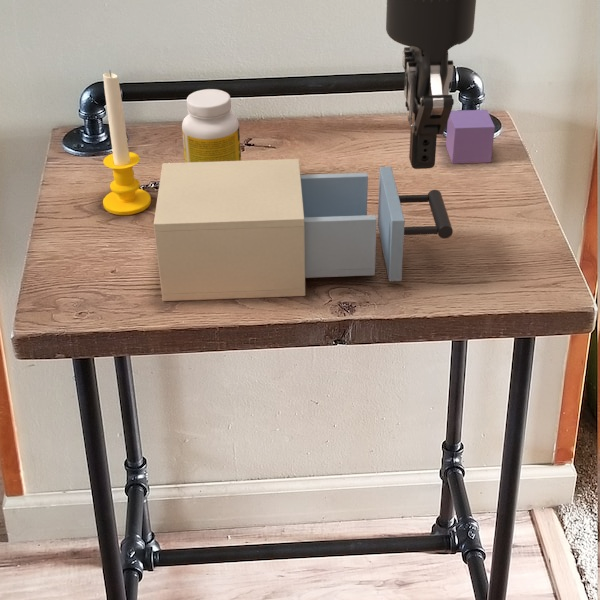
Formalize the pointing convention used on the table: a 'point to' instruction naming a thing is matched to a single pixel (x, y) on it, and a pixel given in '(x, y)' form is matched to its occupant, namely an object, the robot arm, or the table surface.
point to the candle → (121, 158)
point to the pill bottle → (210, 128)
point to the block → (470, 136)
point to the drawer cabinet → (230, 230)
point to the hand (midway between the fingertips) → (421, 164)
